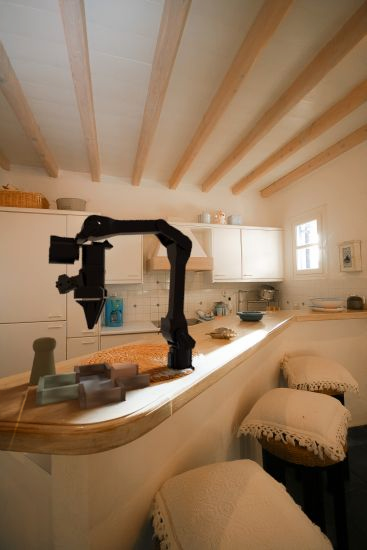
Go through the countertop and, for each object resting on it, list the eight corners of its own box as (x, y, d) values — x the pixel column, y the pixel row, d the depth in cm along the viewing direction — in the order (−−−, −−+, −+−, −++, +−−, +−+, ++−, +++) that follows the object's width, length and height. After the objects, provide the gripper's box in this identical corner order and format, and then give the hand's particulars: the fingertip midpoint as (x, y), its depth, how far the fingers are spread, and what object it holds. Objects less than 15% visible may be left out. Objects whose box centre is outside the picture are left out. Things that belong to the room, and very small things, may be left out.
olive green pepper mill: (44, 388, 58) (46, 340, 59) (22, 386, 59) (24, 339, 60) (61, 379, 64) (63, 336, 65) (41, 377, 65) (43, 335, 66)
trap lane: (131, 370, 72) (132, 359, 72) (157, 397, 53) (158, 382, 53) (40, 382, 61) (41, 369, 62) (33, 421, 43) (33, 403, 43)
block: (130, 377, 64) (130, 361, 64) (136, 383, 59) (136, 366, 59) (110, 380, 61) (111, 364, 62) (114, 387, 57) (115, 369, 57)
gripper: (67, 268, 71) (66, 323, 70) (48, 260, 53) (46, 334, 52) (107, 268, 73) (107, 321, 72) (103, 261, 55) (102, 331, 54)
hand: (92, 326), depth 63 cm, fingers open, 9 cm apart
